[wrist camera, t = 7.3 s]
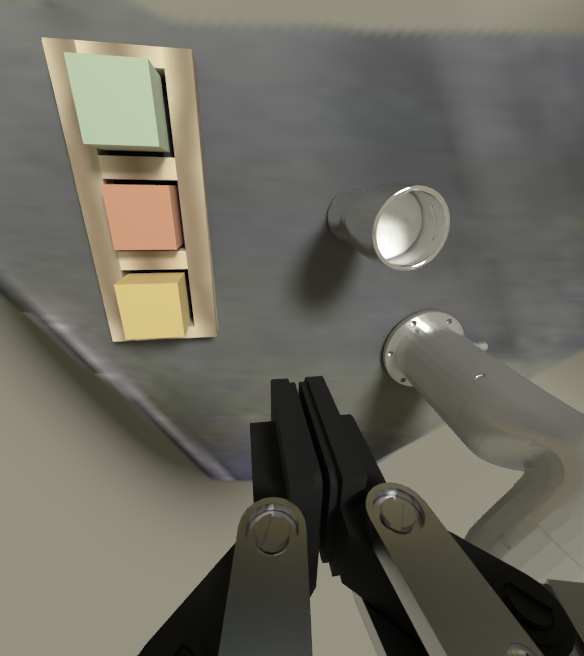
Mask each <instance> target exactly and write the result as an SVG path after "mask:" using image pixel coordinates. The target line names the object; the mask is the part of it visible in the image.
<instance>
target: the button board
mask: <svg viewBox="0 0 584 656" xmlns="http://www.w3.org/2000/svg"><path fill="white" fill-rule="evenodd" d="M41 38H42V43H43V47H44V51H45V55H46V60H47V64H48V68H49V72H50V77H51V81H52V85H53V89H54V94H55V98H56V102H57V106H58V111H59V115H60V119H61V123H62V128H63V132H64V136H65V140H66V145H67V149H68V153H69V157H70V162H71V166H72V170H73V174H74V179H75V183H76V187H77V191H78V196H79V200H80V204H81V208H82V213H83V217H84V221H85V225H86V230H87V234H88V238H89V242H90V247H91V251H92V255H93V259H94V264H95V268H96V272H97V276H98V281H99V285H100V289H101V293H102V298H103V302H104V306H105V310H106V315H107V319H108V323H109V327H110V332H111V336H112V340H113V342H120V341H140V340H160V339H180V338H200V337H217V332H218V319H217V307H216V296H215V284H214V272H213V260H212V248H211V236H210V225H209V213H208V201H207V189H206V177H205V165H204V154H203V142H202V130H201V118H200V106H199V94H198V82H197V71H196V61H195V58H194V55H193V52H192V49H180V48H167V47H155V46H143V45H130V44H118V43H105V42H93V41H81V40H68V39H56V38H44V37H41ZM63 52H71V53H84V54H97V55H110V56H124V57H137V58H148V59H149V61H150V62H151V64H152V65H153V67H154V68H155V70H156V71H157V72H158V74H159V75H160V77H161V79H166V86H167V95H168V104H169V112H170V121H171V129H172V138H173V146H174V155H175V158H170V157H138V156H109V153H108V150H103V149H99V148H96V147H92V146H89V145H85V144H83V140H82V136H81V131H80V126H79V122H78V117H77V113H76V108H75V103H74V99H73V94H72V90H71V85H70V80H69V76H68V71H67V66H66V62H65V57H64V53H63ZM113 179H115V180H163V181H178V189H179V198H180V206H181V215H182V223H183V232H184V240H185V246H180V247H179V248H178V249H177V250H114V246H113V241H112V236H111V231H110V226H109V221H108V217H107V212H106V207H105V202H104V197H103V192H102V188H101V184H114V180H113ZM163 269H188V274H189V283H190V291H191V300H192V309H193V318H190V324H189V327H188V329H187V332H186V335H185V337H175V338H154V339H134V340H126V339H125V334H124V330H123V325H122V320H121V316H120V311H119V307H118V302H117V297H116V293H115V288H114V284H115V283H117V282H118V281H119V280H121V279H122V278H123V277H125V276H126V275H127V274H131V270H163Z"/></svg>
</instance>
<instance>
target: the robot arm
mask: <svg viewBox="0 0 584 656" xmlns="http://www.w3.org/2000/svg"><path fill="white" fill-rule="evenodd" d="M487 348H488V346H487V343H486V342H475V343H474V342H472V341H471V340H469V339H468V338H466V337H465V336H464V332H463V329H462V326H461V325H460V323H459V322H458V321H457V320H456V319H455V318H454V317H452V316H451V315H449V314H447V313H445V312H442V311H437V310H426V311H421V312H418V313H415V314H413V315H411V316H409V317H407V318H406V319H404V320H403V321H402V322H400V323H399V324H398V325H397V326H396V327H395V328H394V329H393V331H392V332H391V333H390V335H389V337H388V338H387V341H386V343H385V346H384V351H383V362H384V366H385V368H386V370H387V372H388V373H389V375H390V376H391V377H392V378H393V379H394V380H395V381H396V382H398V383H400V384H402V385H405V386H411V387H414V388H415V389H416V390H417V391H418V392H419V393H420V394H421V395H422V397H423V398H424V399H425V400H426V401H427V402H428V403H429V404H430V406H431V407H432V408H433V409H434V410H435V411H436V412H437V413H438V415H439V416H440V417H441V418H442V419H443V420H444V421H445V423H446V424H447V425H448V426H449V427H450V428H451V429H452V430H453V431H454V433H455V434H456V435H457V436H458V437H459V438H460V439H461V441H462V442H463V443H464V444H465V445H466V446H467V447H468V448H469V449H470V450H471V451H472V452H473V453H474V454H475V455H477V456H478V457H479V458H481V459H483V460H485V461H487V462H489V463H491V464H494V465H497V466H500V467H504V468H508V469H513V470H518V471H524V474H523V475H522V477H521V478H520V479H519V480H518V481H517V482H516V483H515V484H514V486H513V487H512V488H511V489H510V490H509V491H508V492H507V493H506V494H505V495H504V496H503V497H502V498H501V499H500V500H498V501H497V502H496V503H495V504H494V505H493V506H492V507H491V508H490V509H489V510H488V511H487V512H486V513H485V514H484V515H483V516H482V517H481V518H480V519H479V520H478V521H477V522H476V523H475V524H474V525H473V526H472V527H471V529H470V530H469V531H468V533H467V535H466V536H465V538H464V539H462V538H460V537H458V536H457V535H455V534H453V533H451V532H450V531H448V530H447V529H446V528H445V526H444V525H443V524H442V523H441V521H440V520H439V519H438V517H437V516H436V515H435V514H434V512H433V511H432V510H431V508H430V507H429V506H428V504H427V503H426V502H425V501H424V500H423V499H422V498H421V497H420V496H419V494H417V493H416V492H415V491H413V490H412V489H410V488H408V487H406V486H403V485H401V484H397V483H386V481H385V479H384V477H383V475H382V473H381V471H380V469H379V467H378V465H377V463H376V461H375V459H374V457H373V455H372V453H371V451H370V449H369V447H368V445H367V443H366V441H365V439H364V437H363V435H362V434H361V432H360V430H359V428H358V426H357V424H356V422H355V420H354V418H353V416H352V415H350V414H347V415H340V414H339V411H338V409H337V407H336V405H335V402H334V400H333V398H332V396H331V394H330V391H329V389H328V387H327V385H326V382H325V380H324V378H323V376H315V377H305V381H304V382H299V395H298V391H297V388H296V384H295V382H293V383H289V380H288V378H287V379H273V380H271V421H270V422H259V423H250V436H251V457H252V478H253V498H254V503H253V504H252V505H251V506H250V507H249V508H247V510H246V511H245V512H244V514H243V515H242V517H241V520H240V523H239V526H238V531H237V537H236V543H235V544H234V545H233V546H232V547H231V548H230V550H229V551H228V552H227V553H226V554H225V555H224V556H223V558H222V559H221V560H220V561H219V562H218V563H217V564H216V565H215V567H214V568H213V569H212V570H211V571H210V572H209V573H208V575H207V576H206V577H205V578H204V579H203V580H202V581H201V582H200V584H199V585H198V586H197V587H196V588H195V589H194V591H193V592H192V593H191V594H190V595H189V596H188V597H187V599H185V601H184V602H183V603H182V604H181V605H180V606H179V607H178V609H177V610H176V611H175V612H174V613H173V614H172V615H171V617H170V618H169V619H168V620H167V621H166V622H165V623H164V625H163V626H162V627H161V628H160V629H159V630H158V631H157V632H156V634H155V635H154V636H153V637H152V638H151V639H150V640H149V641H148V643H147V644H146V645H145V646H144V648H143V649H142V651H141V652H140V654H139V655H137V656H312V638H311V615H310V597H311V595H312V593H313V591H314V590H315V588H316V579H317V567H318V554H319V552H320V557H321V560H322V562H323V563H327V562H329V565H330V569H331V572H332V576H338V575H340V577H341V581H342V583H343V584H344V585H346V586H347V587H348V588H350V589H351V590H352V591H353V595H354V599H355V603H356V605H357V607H358V610H359V612H360V615H361V617H362V620H363V622H364V624H365V627H366V629H367V632H368V634H369V637H370V639H371V641H372V644H373V646H374V649H375V651H376V653H377V656H584V414H583V413H581V412H579V411H577V410H576V409H574V408H572V407H571V406H569V405H567V404H566V403H564V402H562V401H561V400H559V399H558V398H556V397H554V396H553V395H551V394H549V393H548V392H546V391H545V390H543V389H542V388H540V387H538V386H537V385H536V384H534V383H533V382H531V381H529V380H528V379H526V378H524V377H523V376H521V375H520V374H518V373H517V372H515V371H514V370H512V369H511V368H509V367H508V366H506V365H505V364H503V363H502V362H500V361H499V360H497V359H496V358H494V357H493V356H491V355H490V354H488V353H487V352H485V351H486V350H487Z"/></svg>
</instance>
